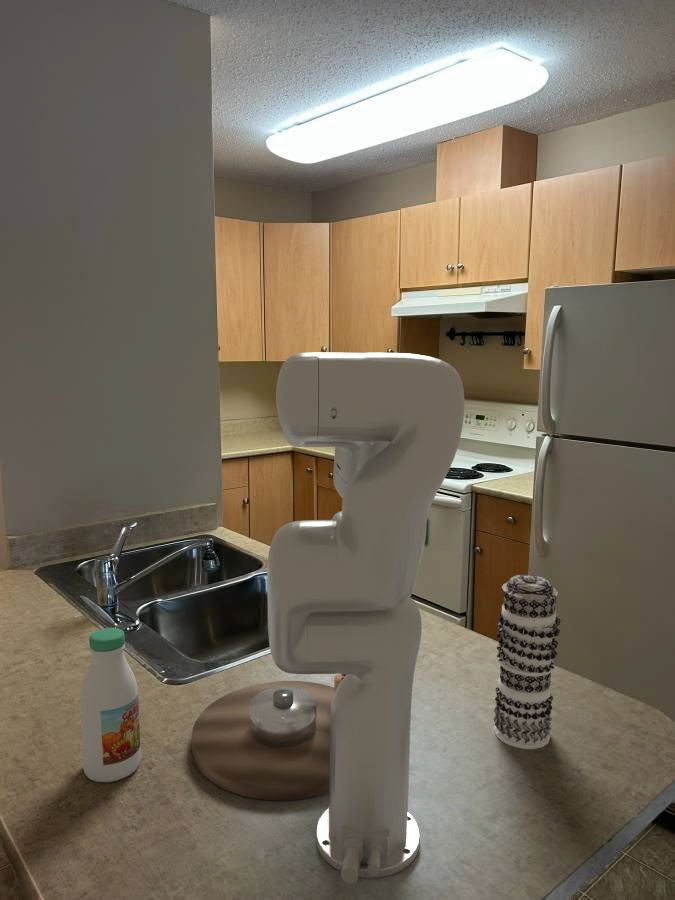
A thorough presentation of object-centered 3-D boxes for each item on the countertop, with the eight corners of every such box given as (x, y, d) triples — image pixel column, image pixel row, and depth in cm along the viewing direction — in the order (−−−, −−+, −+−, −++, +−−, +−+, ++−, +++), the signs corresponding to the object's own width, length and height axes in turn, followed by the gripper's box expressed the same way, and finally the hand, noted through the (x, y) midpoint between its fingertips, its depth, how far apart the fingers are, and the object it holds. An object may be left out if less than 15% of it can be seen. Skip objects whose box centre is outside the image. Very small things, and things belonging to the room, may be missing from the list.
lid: (311, 750, 95) (312, 714, 94) (243, 745, 96) (242, 710, 95) (319, 712, 105) (320, 679, 104) (257, 708, 106) (257, 676, 105)
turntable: (376, 806, 87) (377, 764, 86) (165, 793, 89) (164, 752, 88) (379, 696, 114) (380, 663, 113) (218, 687, 116) (218, 655, 115)
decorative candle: (555, 755, 98) (566, 593, 95) (491, 745, 101) (499, 587, 97) (550, 721, 107) (560, 572, 103) (491, 714, 109) (499, 567, 106)
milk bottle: (80, 788, 90) (73, 648, 87) (86, 755, 97) (79, 624, 94) (140, 779, 92) (135, 642, 89) (141, 747, 99) (136, 619, 96)
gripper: (397, 606, 97) (394, 722, 100) (358, 572, 110) (356, 676, 113) (349, 612, 94) (347, 732, 97) (315, 577, 108) (315, 683, 111)
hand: (352, 701), depth 105 cm, fingers closed
